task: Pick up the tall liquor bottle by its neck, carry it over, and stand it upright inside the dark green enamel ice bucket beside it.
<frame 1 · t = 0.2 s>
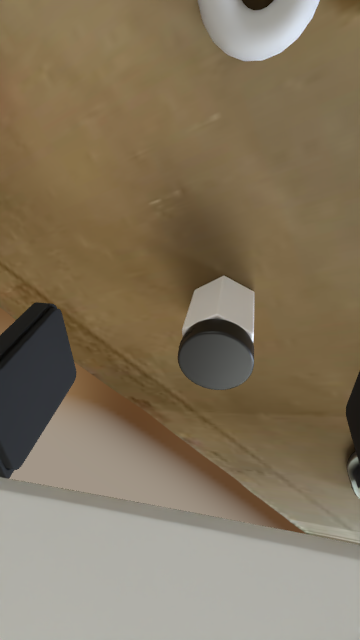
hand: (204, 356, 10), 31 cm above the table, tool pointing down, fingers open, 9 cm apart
jar: (224, 304, 46), on the table
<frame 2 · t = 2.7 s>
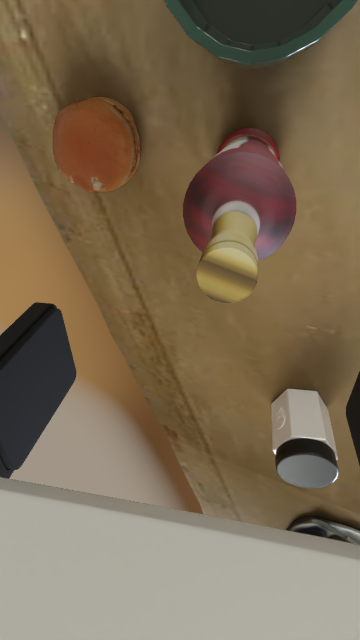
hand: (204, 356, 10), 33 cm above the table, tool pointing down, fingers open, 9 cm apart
liquor: (246, 162, 38), on the table
salad plate: (322, 534, 77), on the table
jar: (298, 405, 56), on the table
burger: (105, 146, 40), on the table
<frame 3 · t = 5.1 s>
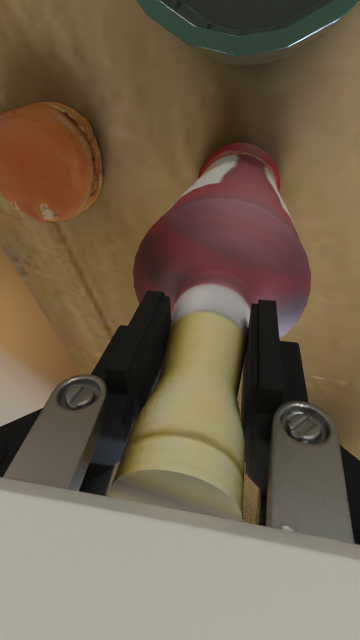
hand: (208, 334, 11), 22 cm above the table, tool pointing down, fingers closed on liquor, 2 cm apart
liquor: (238, 184, 30), on the table, touching gripper
burger: (60, 163, 31), on the table
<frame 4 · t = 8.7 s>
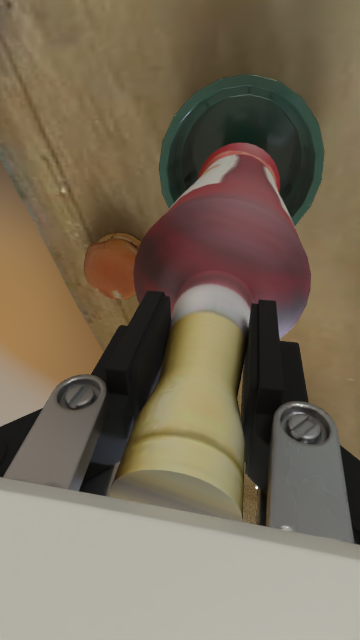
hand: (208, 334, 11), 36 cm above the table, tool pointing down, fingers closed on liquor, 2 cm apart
liquor: (238, 184, 30), point 14 cm above the table, touching gripper
ice bucket: (240, 158, 41), on the table
burger: (122, 261, 52), on the table
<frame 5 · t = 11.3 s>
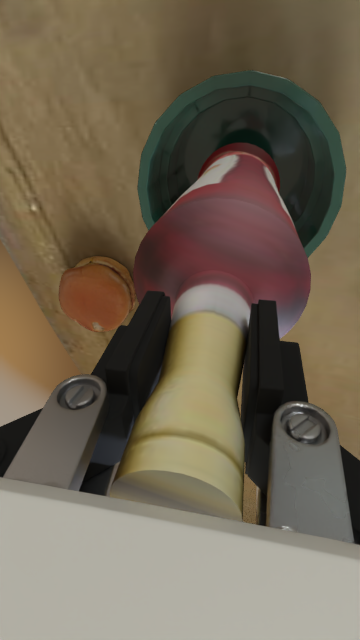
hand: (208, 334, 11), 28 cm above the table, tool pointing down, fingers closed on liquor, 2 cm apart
liquor: (238, 184, 30), point 5 cm above the table, touching gripper
ice bucket: (240, 172, 34), on the table
burger: (104, 287, 45), on the table
when the fingers open (23 cm above the table, at t = 12.9 s): liquor stays where it is, resting on ice bucket.
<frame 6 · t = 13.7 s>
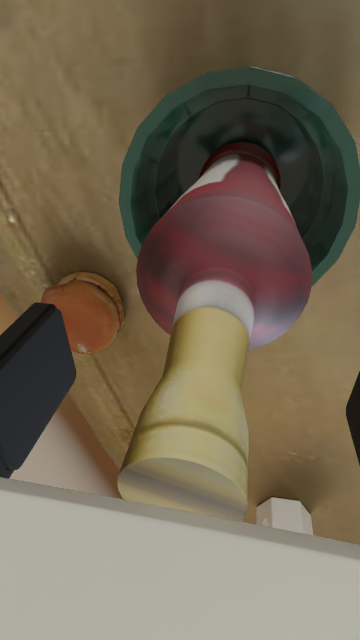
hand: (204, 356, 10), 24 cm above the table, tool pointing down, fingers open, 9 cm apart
liquor: (238, 183, 30), point 1 cm above the table, touching ice bucket
jar: (283, 509, 58), on the table
ice bucket: (238, 182, 30), on the table
burger: (91, 305, 41), on the table
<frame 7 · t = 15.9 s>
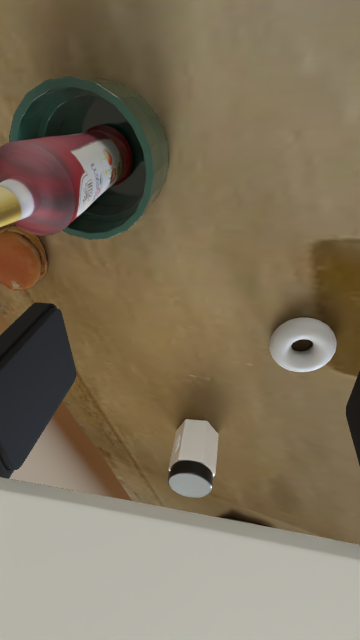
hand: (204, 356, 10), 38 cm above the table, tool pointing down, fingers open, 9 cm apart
liquor: (109, 155, 43), point 1 cm above the table, touching ice bucket
donut: (300, 338, 55), on the table
jar: (197, 430, 72), on the table
ice bucket: (110, 154, 43), on the table
burger: (23, 254, 54), on the table
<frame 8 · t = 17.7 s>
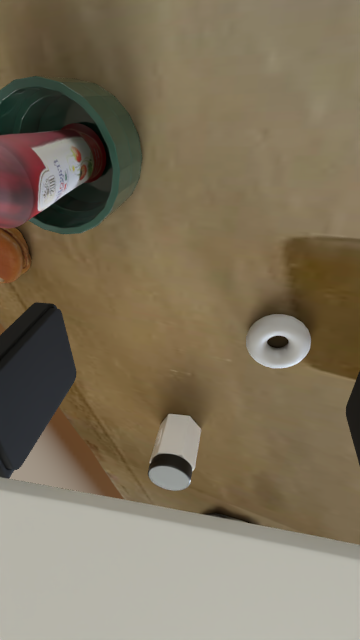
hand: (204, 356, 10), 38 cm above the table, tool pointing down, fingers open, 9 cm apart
liquor: (85, 152, 44), point 1 cm above the table, touching ice bucket
donut: (277, 335, 55), on the table
jar: (180, 425, 73), on the table
ice bucket: (86, 151, 45), on the table
burger: (7, 248, 56), on the table
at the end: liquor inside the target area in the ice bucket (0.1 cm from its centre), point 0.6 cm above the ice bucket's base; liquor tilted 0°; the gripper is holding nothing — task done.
